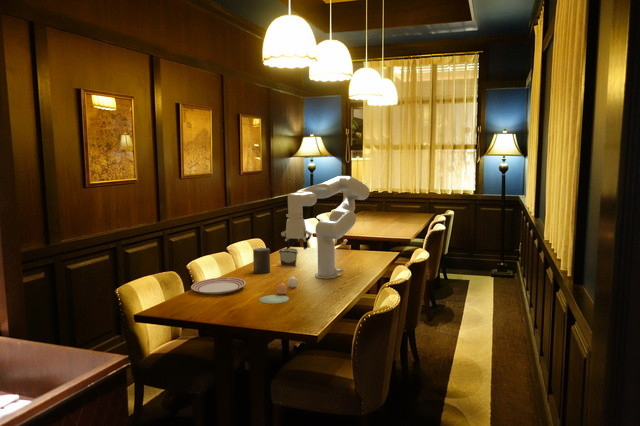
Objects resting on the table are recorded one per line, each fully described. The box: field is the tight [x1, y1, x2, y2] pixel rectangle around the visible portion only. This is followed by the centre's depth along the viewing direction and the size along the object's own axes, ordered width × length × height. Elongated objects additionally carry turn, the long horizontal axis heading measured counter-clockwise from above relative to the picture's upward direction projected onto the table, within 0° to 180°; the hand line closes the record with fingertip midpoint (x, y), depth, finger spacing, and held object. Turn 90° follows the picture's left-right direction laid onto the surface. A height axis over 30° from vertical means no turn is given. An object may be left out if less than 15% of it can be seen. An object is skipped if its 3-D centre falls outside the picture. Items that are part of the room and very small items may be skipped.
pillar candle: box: [252, 247, 271, 275], centre depth 295 cm, size 10×10×15 cm
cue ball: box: [287, 276, 299, 288], centre depth 260 cm, size 6×6×6 cm
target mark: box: [258, 294, 290, 305], centre depth 239 cm, size 14×14×1 cm
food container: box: [278, 248, 299, 268], centre depth 313 cm, size 12×6×10 cm, turn 71°
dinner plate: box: [190, 277, 247, 295], centre depth 258 cm, size 28×27×3 cm
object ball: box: [275, 283, 288, 296], centre depth 247 cm, size 6×6×6 cm
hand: (296, 248), depth 268 cm, fingers open, 9 cm apart
